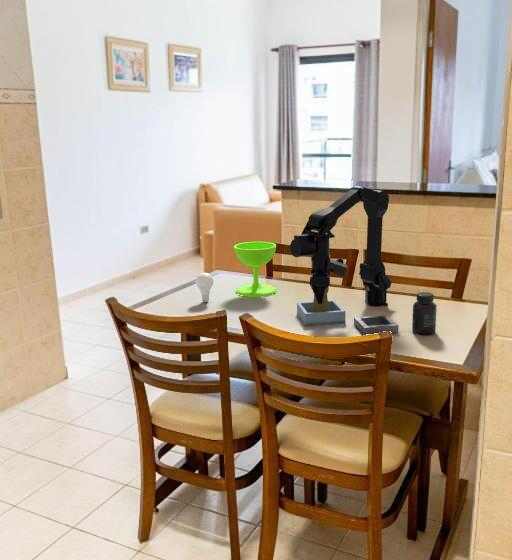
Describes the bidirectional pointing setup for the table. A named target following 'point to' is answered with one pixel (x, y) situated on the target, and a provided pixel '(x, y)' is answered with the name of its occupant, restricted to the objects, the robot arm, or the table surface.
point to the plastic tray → (320, 314)
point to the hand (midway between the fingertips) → (320, 299)
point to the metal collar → (375, 324)
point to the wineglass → (255, 266)
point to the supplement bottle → (424, 314)
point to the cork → (323, 306)
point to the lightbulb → (204, 285)
